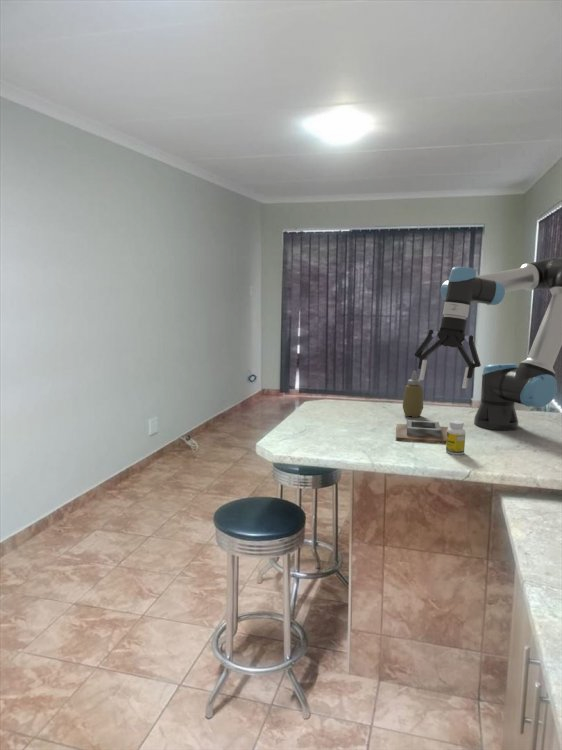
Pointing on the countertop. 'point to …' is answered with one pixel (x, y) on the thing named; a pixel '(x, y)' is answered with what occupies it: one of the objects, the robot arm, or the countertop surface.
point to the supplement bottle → (455, 438)
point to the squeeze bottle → (413, 397)
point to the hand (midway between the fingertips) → (442, 384)
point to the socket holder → (421, 432)
